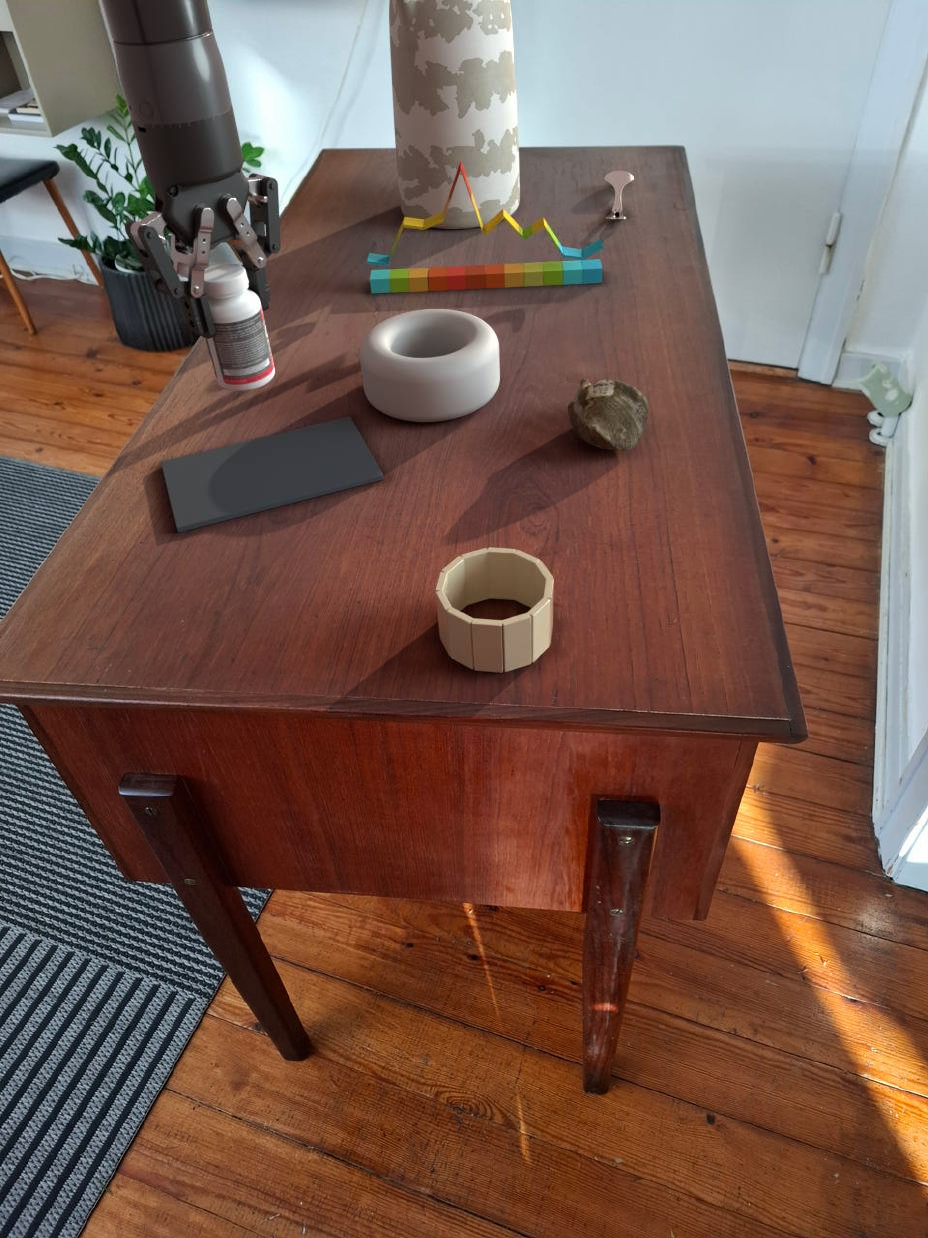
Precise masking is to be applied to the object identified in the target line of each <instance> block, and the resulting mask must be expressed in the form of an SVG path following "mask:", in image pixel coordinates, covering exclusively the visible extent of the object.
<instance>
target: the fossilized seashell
mask: <svg viewBox="0 0 928 1238" xmlns="http://www.w3.org/2000/svg"><path fill="white" fill-rule="evenodd" d="M649 410H650V409H649V403H648V399H647V398H646V395H644V394H643V392H642V391H640V390H639V389H638V388H636V387H635V386H633V385H632V384H629V383H626V382H624V381H621V380H617V379H616V380H615V379H601V380H599V381H596V382H594V383H590V380H589V379H588V378H586V377H585V378H582V379H581V380H580V385H579V388H578V391H577V392H576V395H575V396H574V397H573V398H572V400H571V401H570V402H569V403H568V405H567V412H568V418H569V421H570V425H571V427H572V429H573V430H572V431H573V432H574V433H575V434H576V435H577V436H578V437H579V438H580V439H581V440H582V441H584V442H585V443H587V444H588V445H591V446H593V447H596V448H598V449H602V450H606V451H607V450H608V451H622V452H628V451H631V449H634V448H635V447H636V446H637V445H638V444H639V442H640V441H641V438H642V437H643V434H644V432H645V427H646V424H647V420H648V415H649Z"/></svg>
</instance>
